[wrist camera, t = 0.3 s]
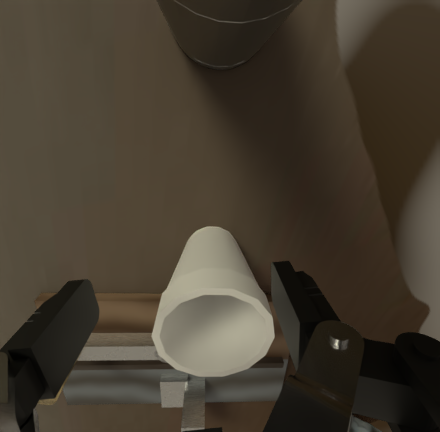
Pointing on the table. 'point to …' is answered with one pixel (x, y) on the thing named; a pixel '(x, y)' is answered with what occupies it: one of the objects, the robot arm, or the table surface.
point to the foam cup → (213, 310)
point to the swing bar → (114, 351)
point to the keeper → (185, 398)
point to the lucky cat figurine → (362, 426)
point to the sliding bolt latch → (152, 369)
